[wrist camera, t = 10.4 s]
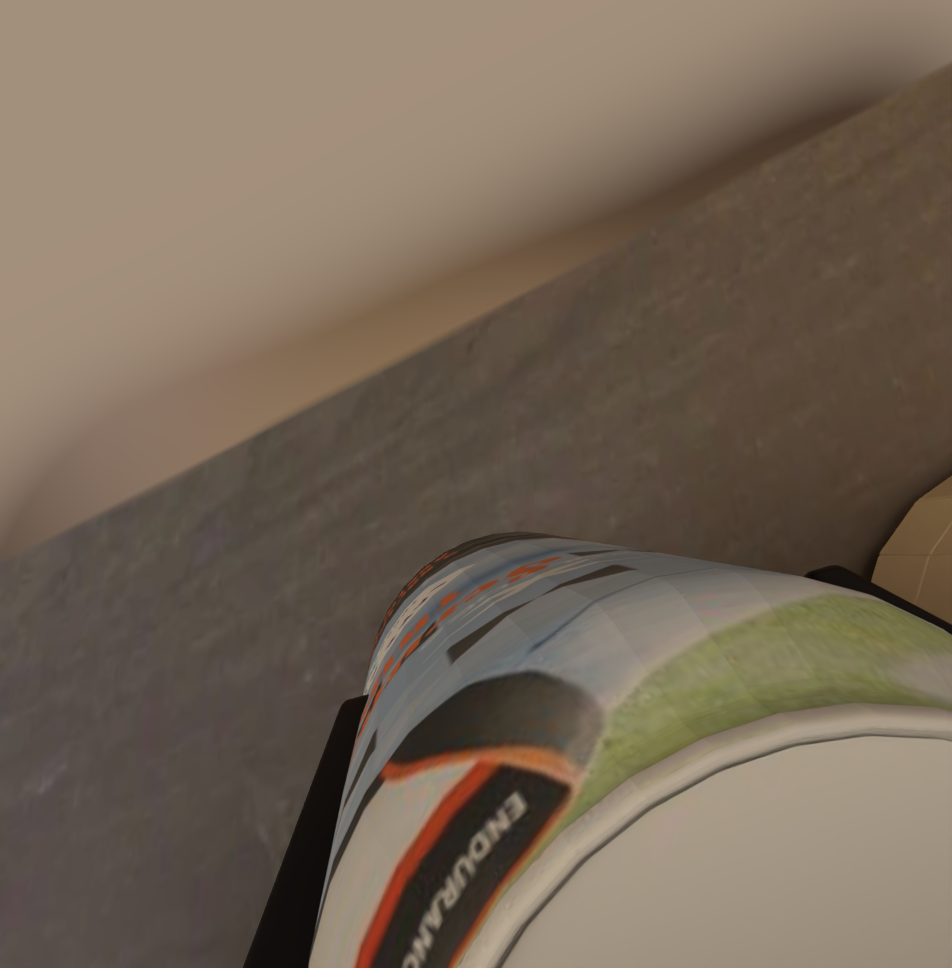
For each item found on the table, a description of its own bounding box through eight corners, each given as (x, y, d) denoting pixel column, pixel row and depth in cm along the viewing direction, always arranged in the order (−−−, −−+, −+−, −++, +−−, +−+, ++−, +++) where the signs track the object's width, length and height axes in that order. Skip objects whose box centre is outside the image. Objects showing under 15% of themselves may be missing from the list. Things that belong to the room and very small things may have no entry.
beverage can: (437, 496, 16) (252, 271, 4) (755, 612, 15) (1739, 788, 3) (335, 771, 15) (-295, 1585, 3) (663, 900, 14) (1455, 2469, 3)
